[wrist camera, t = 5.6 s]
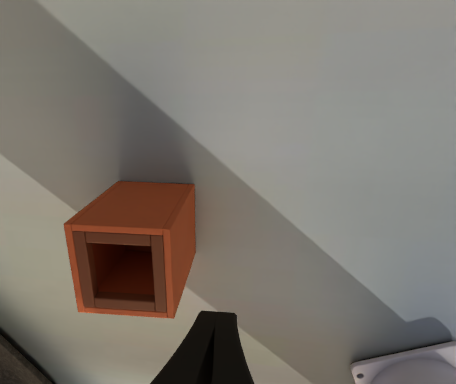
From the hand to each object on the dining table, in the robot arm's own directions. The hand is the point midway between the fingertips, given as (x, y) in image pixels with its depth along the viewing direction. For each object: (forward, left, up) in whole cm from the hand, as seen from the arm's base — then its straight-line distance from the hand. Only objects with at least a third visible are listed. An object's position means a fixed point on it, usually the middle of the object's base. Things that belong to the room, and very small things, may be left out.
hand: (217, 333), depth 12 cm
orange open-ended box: (+1, +2, -7) cm, 7 cm away
